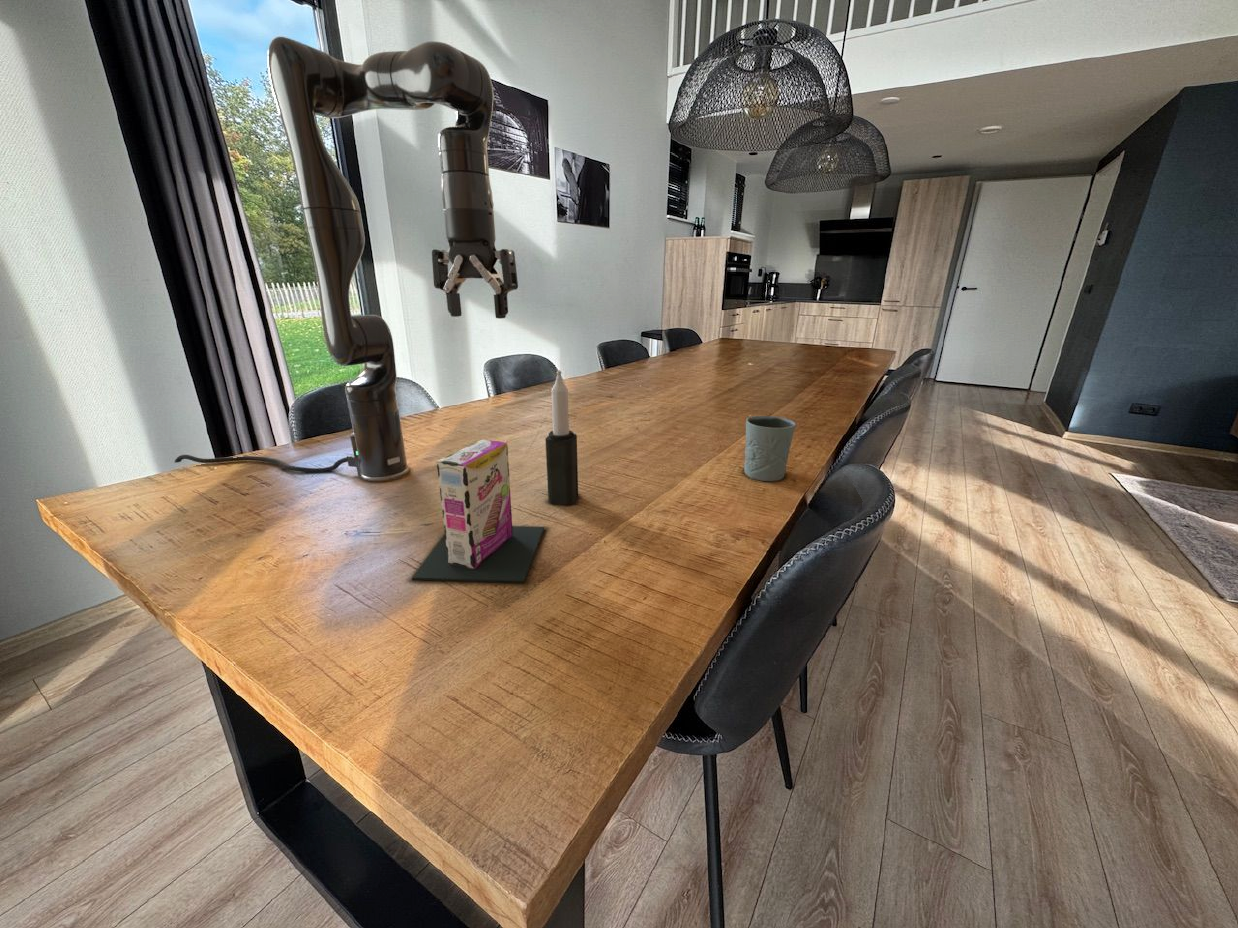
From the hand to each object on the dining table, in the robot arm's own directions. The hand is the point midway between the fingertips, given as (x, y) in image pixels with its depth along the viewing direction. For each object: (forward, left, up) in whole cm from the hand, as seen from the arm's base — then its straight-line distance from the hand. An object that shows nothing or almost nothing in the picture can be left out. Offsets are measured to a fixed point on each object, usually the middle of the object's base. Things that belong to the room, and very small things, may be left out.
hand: (478, 317), depth 82 cm
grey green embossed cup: (+49, +31, -34) cm, 67 cm away
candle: (+12, +5, -34) cm, 37 cm away
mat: (+8, -17, -34) cm, 39 cm away
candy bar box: (+8, -17, -34) cm, 39 cm away
